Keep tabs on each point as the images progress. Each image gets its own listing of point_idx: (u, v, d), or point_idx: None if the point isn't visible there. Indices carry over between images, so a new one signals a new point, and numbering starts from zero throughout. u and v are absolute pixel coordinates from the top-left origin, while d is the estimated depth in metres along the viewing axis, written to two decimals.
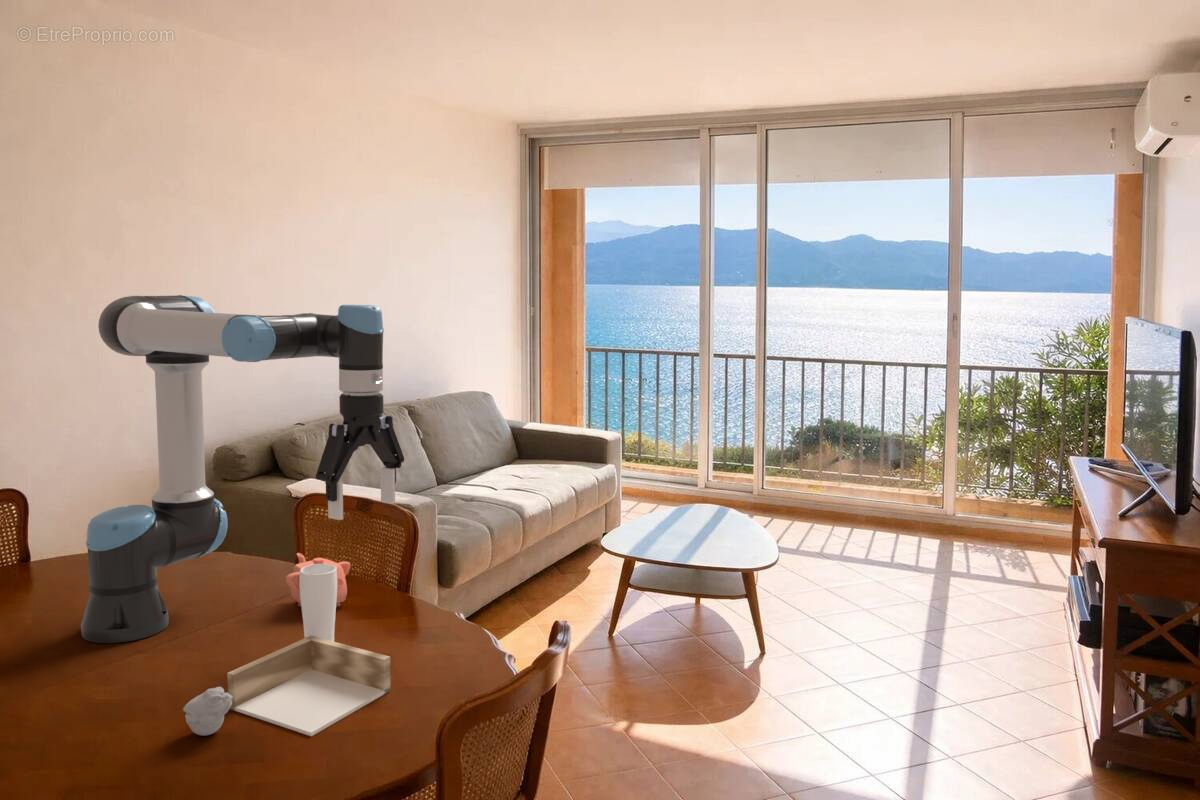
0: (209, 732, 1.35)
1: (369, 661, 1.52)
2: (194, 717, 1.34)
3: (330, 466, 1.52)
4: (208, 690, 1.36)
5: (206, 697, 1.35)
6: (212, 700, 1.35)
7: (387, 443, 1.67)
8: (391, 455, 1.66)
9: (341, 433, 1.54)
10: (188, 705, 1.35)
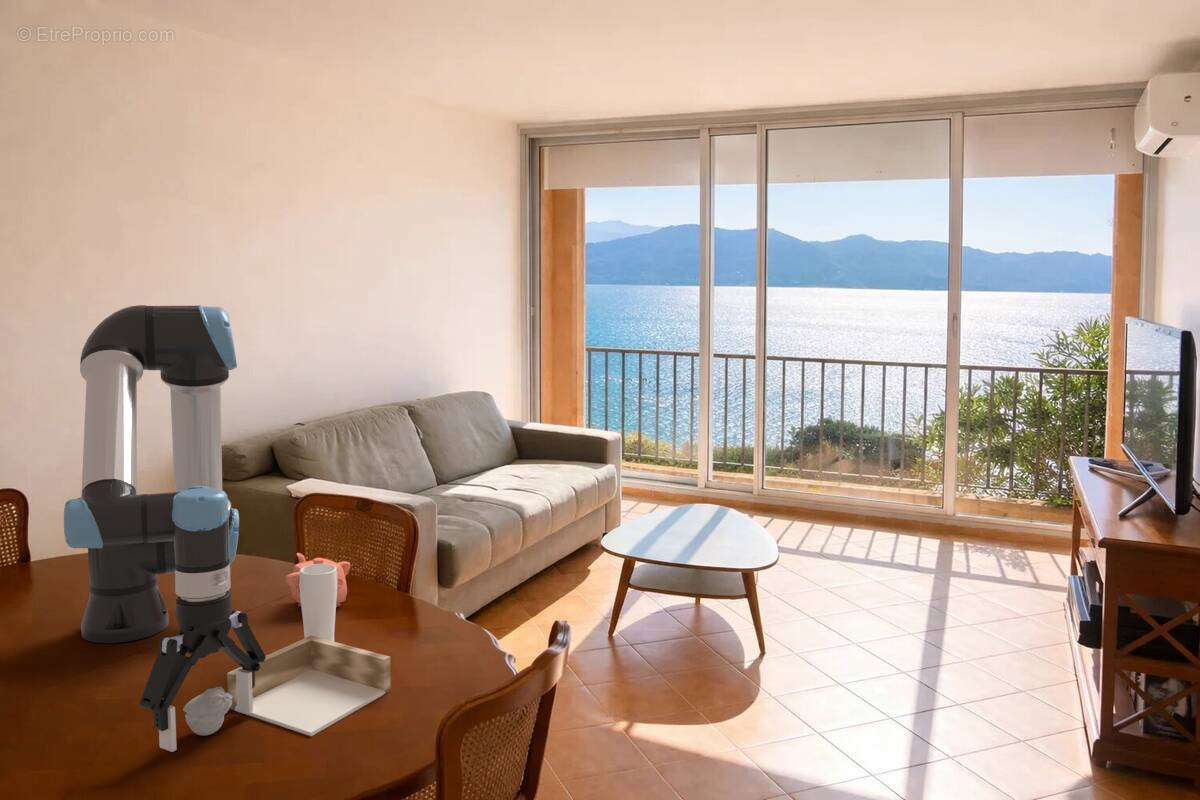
0: (209, 732, 1.35)
1: (369, 661, 1.52)
2: (194, 717, 1.34)
3: (156, 692, 1.27)
4: (208, 690, 1.36)
5: (206, 697, 1.35)
6: (212, 700, 1.35)
7: (243, 642, 1.42)
8: (246, 657, 1.41)
9: (172, 650, 1.29)
10: (188, 705, 1.35)
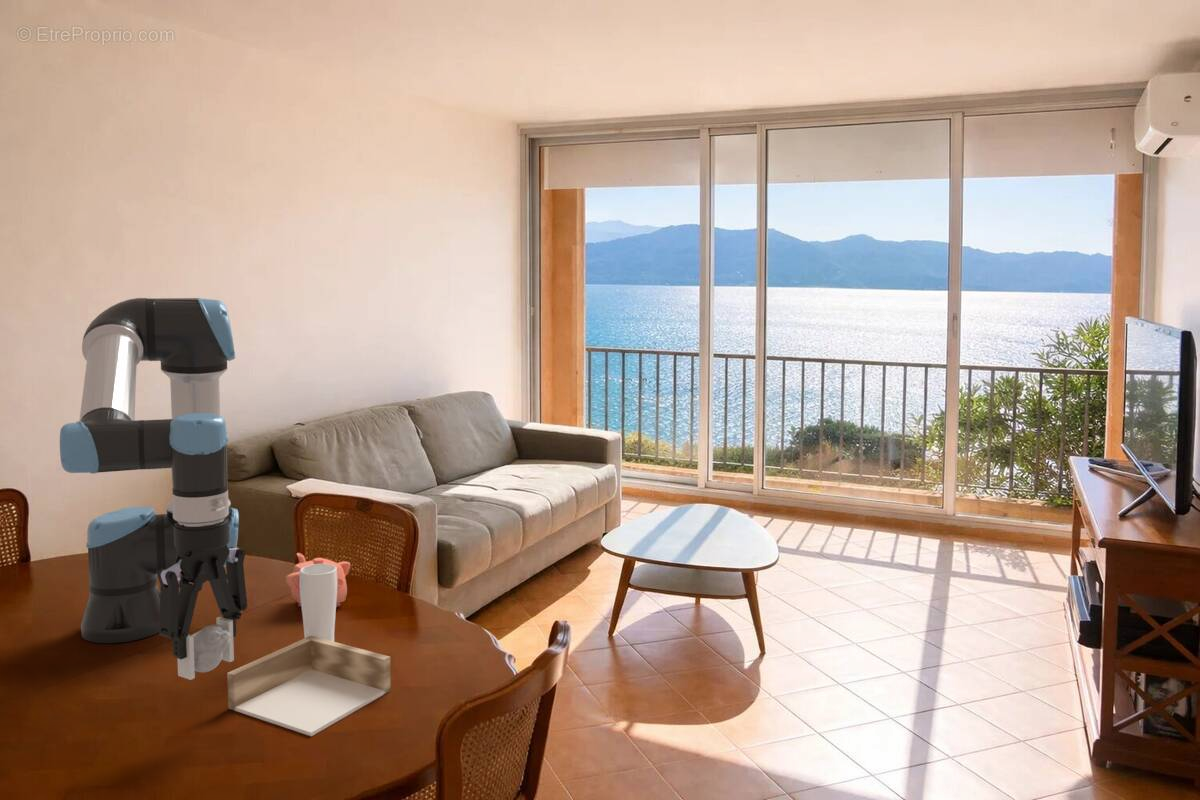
0: (208, 669, 1.34)
1: (369, 661, 1.52)
2: None
3: (171, 622, 1.28)
4: (206, 627, 1.35)
5: (203, 634, 1.34)
6: (210, 636, 1.34)
7: (231, 583, 1.39)
8: (231, 601, 1.38)
9: (173, 581, 1.28)
10: None
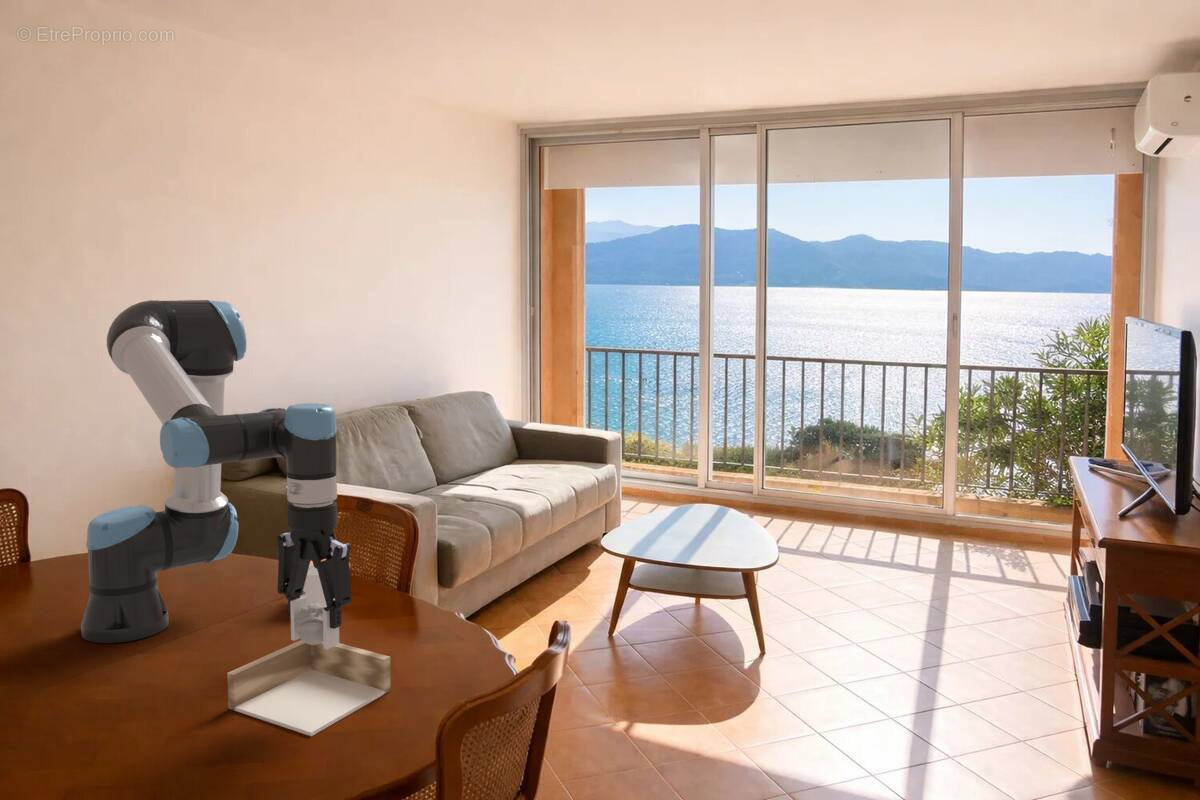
0: (302, 639, 1.45)
1: (369, 661, 1.52)
2: None
3: (278, 578, 1.46)
4: (313, 603, 1.45)
5: None
6: (301, 610, 1.44)
7: None
8: (327, 591, 1.42)
9: (280, 544, 1.45)
10: None
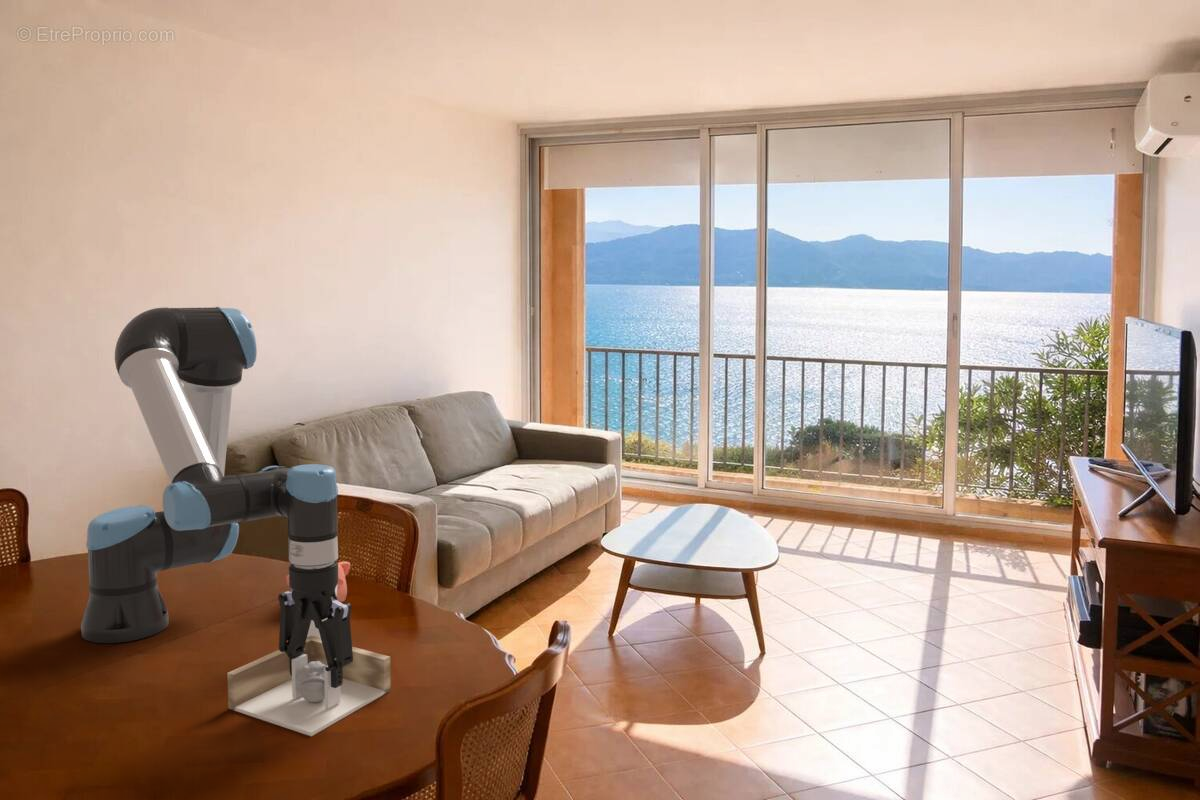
0: (303, 697, 1.46)
1: (369, 661, 1.52)
2: None
3: (279, 636, 1.48)
4: (313, 661, 1.46)
5: (307, 665, 1.46)
6: (303, 669, 1.45)
7: None
8: (328, 651, 1.43)
9: (281, 602, 1.47)
10: None
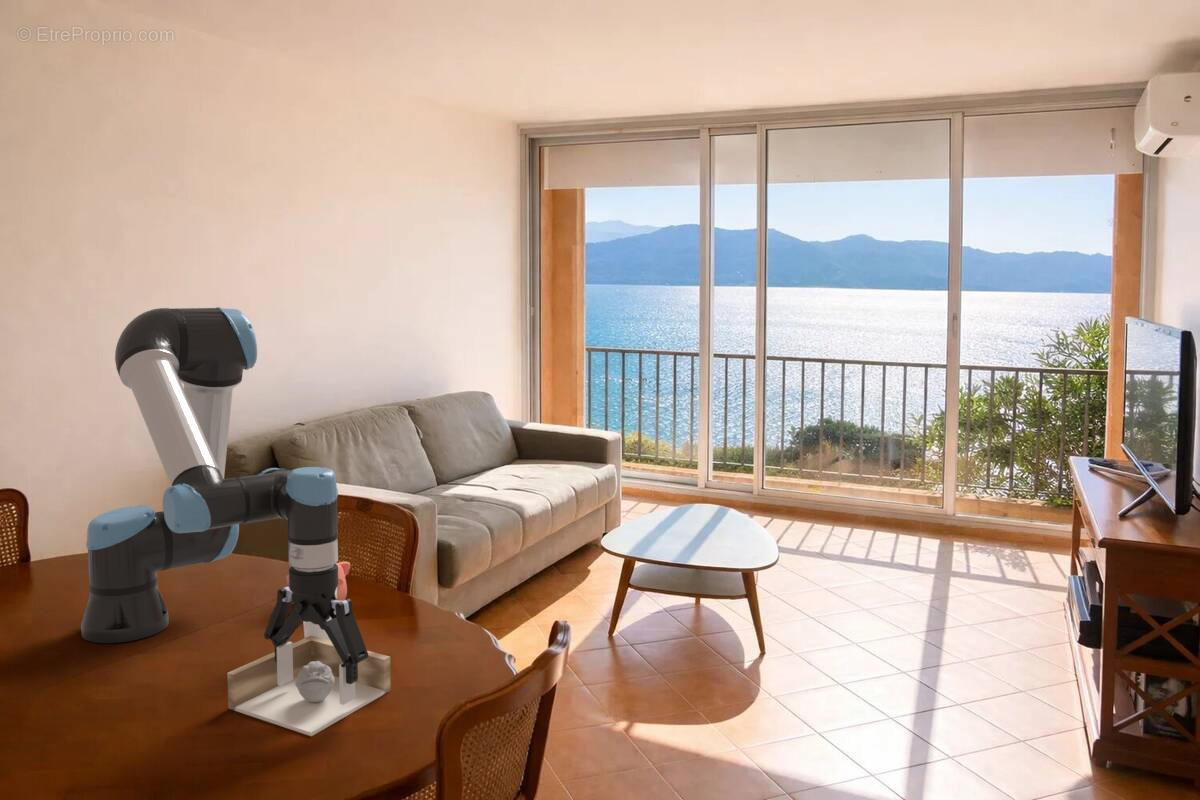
0: (303, 697, 1.46)
1: (369, 661, 1.52)
2: None
3: (268, 625, 1.49)
4: (314, 661, 1.46)
5: (307, 665, 1.46)
6: (303, 669, 1.45)
7: None
8: (339, 648, 1.42)
9: (279, 597, 1.47)
10: None
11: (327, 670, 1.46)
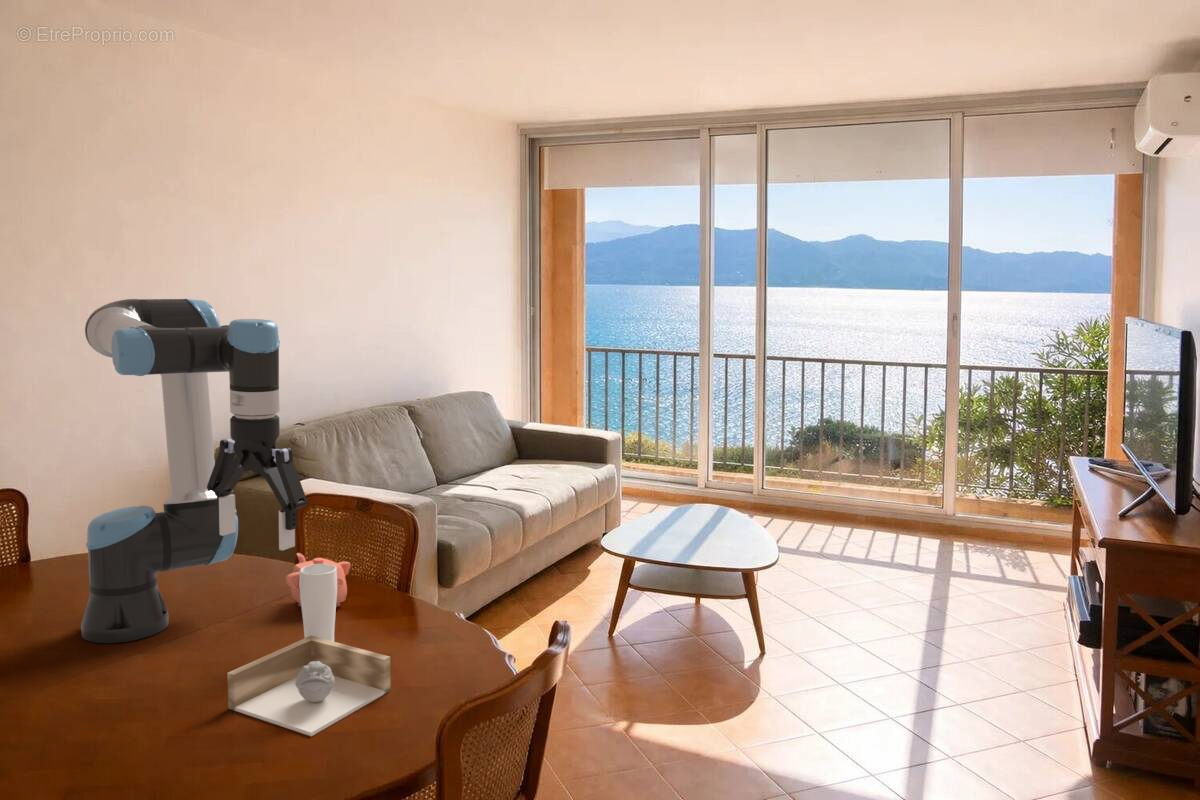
0: (303, 697, 1.46)
1: (369, 661, 1.52)
2: None
3: (210, 476, 1.52)
4: (314, 661, 1.46)
5: (307, 665, 1.46)
6: (303, 669, 1.45)
7: None
8: (279, 495, 1.45)
9: (221, 448, 1.50)
10: None
11: (327, 670, 1.46)
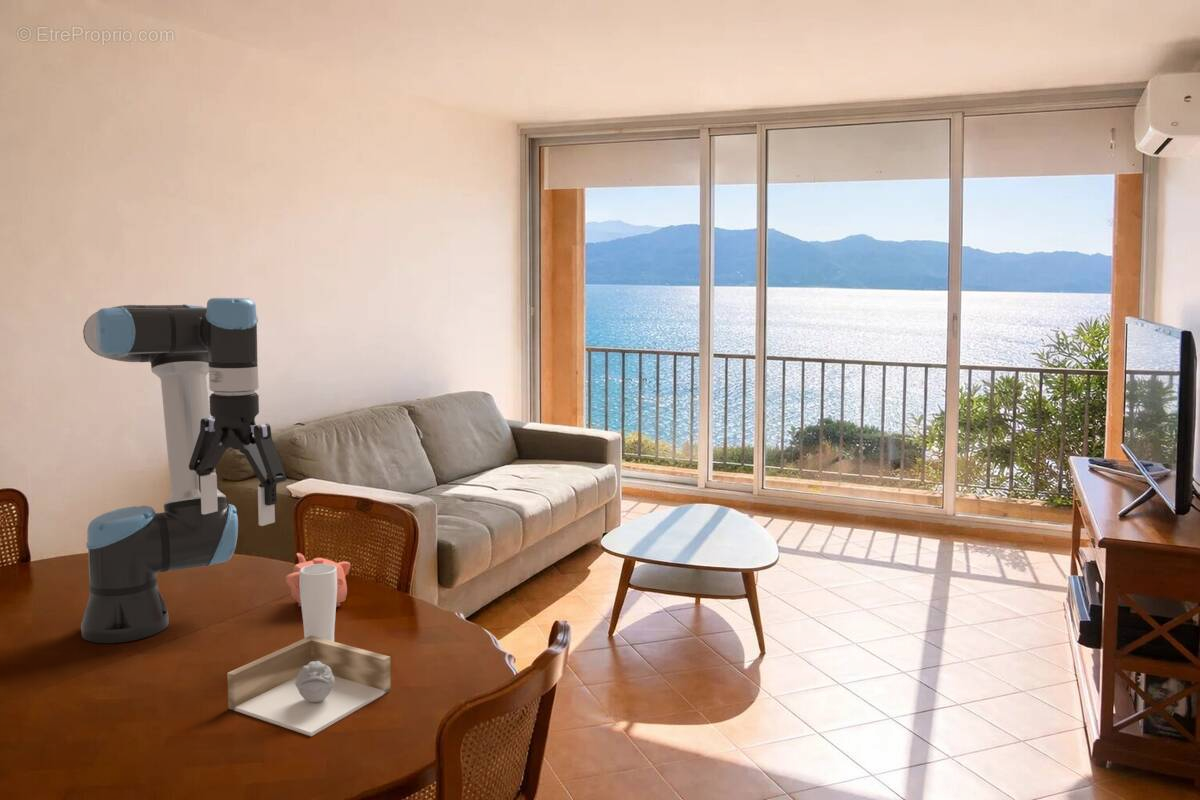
0: (303, 697, 1.46)
1: (369, 661, 1.52)
2: None
3: (192, 455, 1.53)
4: (313, 661, 1.46)
5: (307, 665, 1.46)
6: (303, 669, 1.45)
7: None
8: (258, 470, 1.46)
9: (202, 427, 1.51)
10: None
11: (327, 670, 1.46)
